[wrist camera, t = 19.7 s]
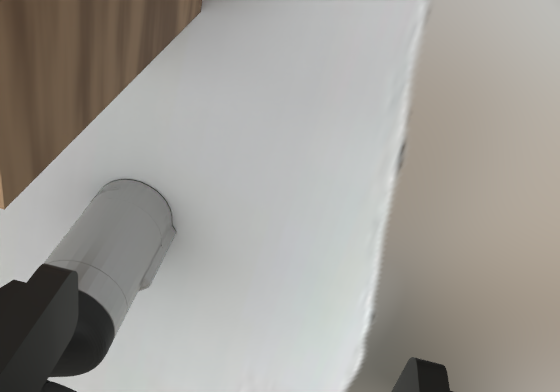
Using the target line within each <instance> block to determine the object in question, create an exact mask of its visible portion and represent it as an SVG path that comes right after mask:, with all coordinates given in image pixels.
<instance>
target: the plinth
mask: <svg viewBox="0 0 560 392" xmlns="http://www.w3.org/2000/svg"><path fill="white" fill-rule="evenodd" d="M201 6H202V0H0V208H1V209H5V208H6V207H7V206H8V205H9V204H10V203H11V202H12V201H13V200H14V199H15V198H16V197H17V196H18V195H19V194H20V193H21V192H22V191H23V190H24V189H25V188H26V187H27V186H28V185H29V184H30V183H31V182H32V181H33V180H34V179H35V178H36V177H37V176H38V175H39V174H40V173H41V172H42V171H43V170H44V169H45V168H46V167H47V166H48V165H49V164H50V163H51V162H52V161H53V160H54V159H55V158H56V157H57V156H58V155H59V154H60V153H61V152H62V151H63V150H64V149H65V148H66V147H67V146H68V145H69V144H70V143H71V142H72V141H73V140H74V139H75V138H76V137H77V136H78V135H79V134H80V133H81V132H82V131H83V130H84V129H85V128H86V127H87V126H88V125H89V124H90V123H91V122H92V121H93V120H94V119H95V118H96V117H97V116H98V115H99V114H100V113H101V112H102V111H103V110H104V109H105V108H106V107H107V106H108V105H109V104H110V103H111V102H112V101H113V100H114V99H115V98H116V97H117V96H118V95H119V94H120V93H121V92H122V91H123V90H124V89H125V88H126V87H127V85H128V84H129V83H130V82H131V81H132V80H133V79H134V78H135V77H136V76H137V75H138V74H139V73H140V72H141V71H142V70H143V69H144V68H145V67H146V66H147V65H148V64H149V63H150V62H151V61H152V60H153V59H154V58H155V57H156V56H157V55H158V54H159V53H160V52H161V51H162V50H163V49H164V48H165V47H166V46H167V45H168V44H169V43H170V42H171V41H172V40H173V39H174V38H175V37H176V36H177V35H178V34H179V33H180V32H181V31H182V30H183V29H184V28H185V27H186V26H187V25H188V24H189V23H190V22H191V21H192V20H193V19H194V18H195V17H196V16H197V15H198V14H199V13H200V12H201Z"/></svg>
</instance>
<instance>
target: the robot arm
mask: <svg viewBox="0 0 560 392" xmlns="http://www.w3.org/2000/svg"><path fill="white" fill-rule="evenodd" d="M175 234H176V231H175V230H174V228H173V227H172V215H171V211H170V208H169V206H168V204H167V202H166V201H165V200H164V199H163V197H162V196H161V195H160V194H159V193H158V192H157V191H155V190H154V189H152V188H151V187H149V186H147V185H145V184H143V183H141V182H137V181H133V180H116V181H113V182H110V183H108V184H107V185H105V186H104V187H103V188H102V189H101V190H100V191H99V193H98V194H97V195H96V196H95V197H94V198H93V200H92V201H91V203H90V204H89V206H88V207H87V208H86V209H85V211H84V212H83V213H82V215H81V216H80V217H79V218H78V220H77V221H76V222H75V224H74V225H73V226H72V228H71V229H70V230H69V231H68V233H67V234H66V235H65V237H64V238H63V239H62V240H61V242H60V243H59V244H58V246H57V247H56V248H55V250H54V251H53V252H52V253H51V255H50V256H49V257H48V259H47V260H46V261H45V263H44V264H42V265H41V266H40V267H39V268H38V269H37V270H36V271H35V273H34V274H33V275H32V277H31V278H30V279H29V280H28V282H27V283H25V282H21V281H17V280H13V281H11V282H9V283H8V284H6V285H4V286H3V287H1V288H0V392H76V391H74V390H72V389H70V388H68V387H65V386H63V385H60V384H58V383H55V382H50V381H49V380H47V379H48V377H67V376H75V375H80V374H83V373H86V372H89V371H91V370H92V369H94V368H95V367H96V366H98V365H99V363H100V362H101V361H102V360H103V359H104V357H105V355H106V354H107V352H108V350H109V348H110V346H111V344H112V342H113V340H114V338H115V336H116V334H117V332H118V330H119V328H120V326H121V324H122V322H123V320H124V318H125V316H126V314H127V312H128V310H129V308H130V306H131V304H132V302H133V300H134V298H135V296H136V294H137V293H138V291H140V290H143V289H146V288H148V287H149V286H150V285H151V283H152V281H153V279H154V277H155V275H156V273H157V271H158V269H159V267H160V265H161V263H162V261H163V259H164V256H165V254H166V252H167V250H168V248H169V246H170V244H171V242H172V240H173V238H174V236H175ZM392 392H453V391H450V388H449V382H448V376H447V371H446V368H445V366H444V365H441V364H437V363H433V362H430V361H426V360H421V359H418V358H414V357H412V358H410V359H409V361H408V362H407V364H406V366H405V368H404V370H403V371H402V373H401V375H400V377H399V379H398V381H397V383H396V384H395V386H394V388H393V390H392Z"/></svg>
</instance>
